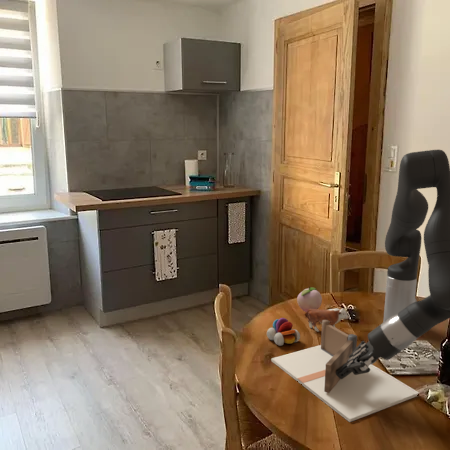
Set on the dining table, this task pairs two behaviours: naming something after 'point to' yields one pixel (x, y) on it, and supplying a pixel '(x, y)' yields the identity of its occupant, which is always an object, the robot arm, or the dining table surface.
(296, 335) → the rainbow toy vehicle
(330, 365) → the hinged fence panel
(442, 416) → the dining table surface
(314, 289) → the decorative fruit
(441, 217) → the robot arm
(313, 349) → the board
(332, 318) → the bull figurine
